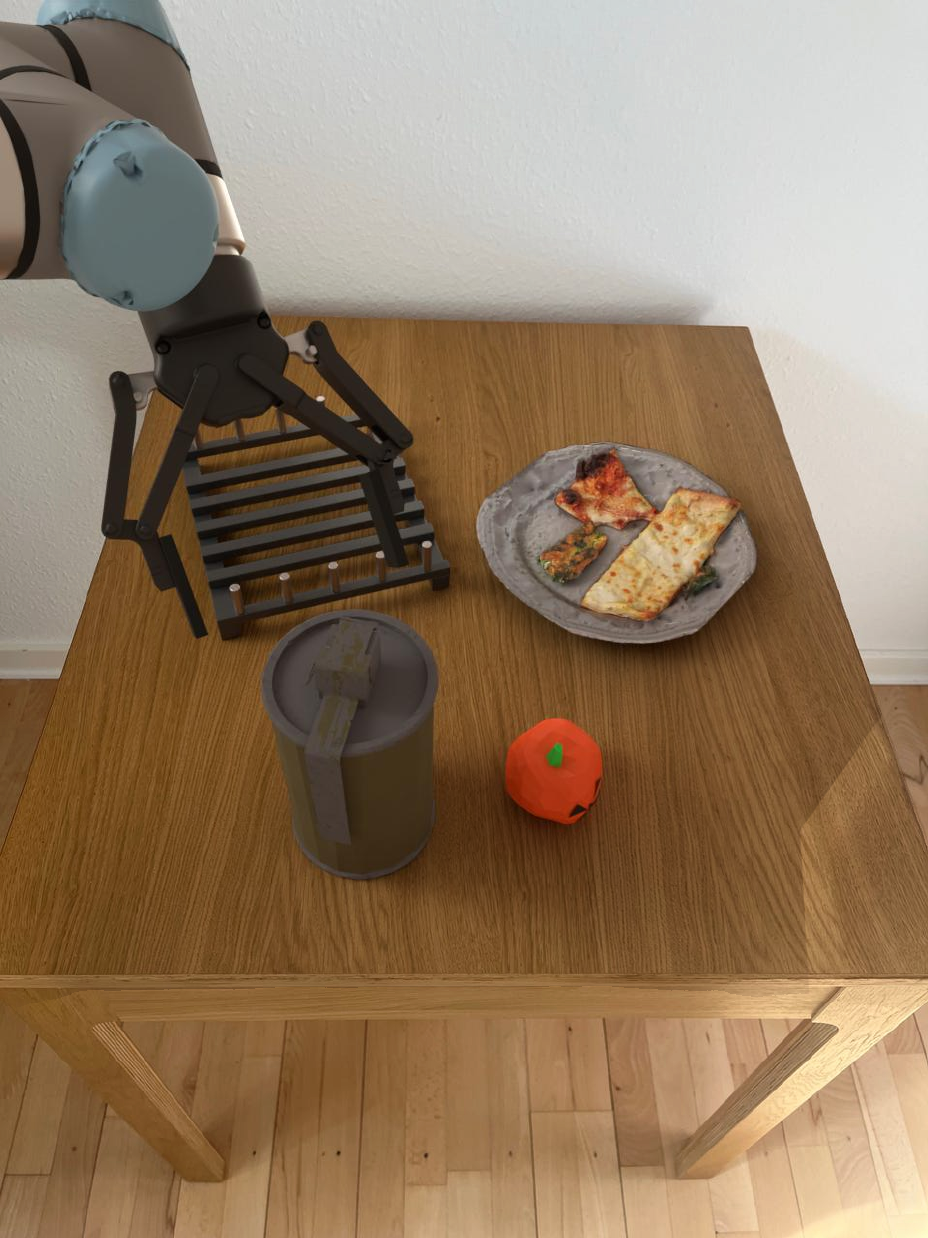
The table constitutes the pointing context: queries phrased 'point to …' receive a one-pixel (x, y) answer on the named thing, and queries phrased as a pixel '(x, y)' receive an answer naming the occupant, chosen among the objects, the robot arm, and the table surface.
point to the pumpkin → (554, 771)
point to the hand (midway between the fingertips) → (303, 600)
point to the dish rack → (216, 552)
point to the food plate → (617, 542)
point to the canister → (355, 739)
